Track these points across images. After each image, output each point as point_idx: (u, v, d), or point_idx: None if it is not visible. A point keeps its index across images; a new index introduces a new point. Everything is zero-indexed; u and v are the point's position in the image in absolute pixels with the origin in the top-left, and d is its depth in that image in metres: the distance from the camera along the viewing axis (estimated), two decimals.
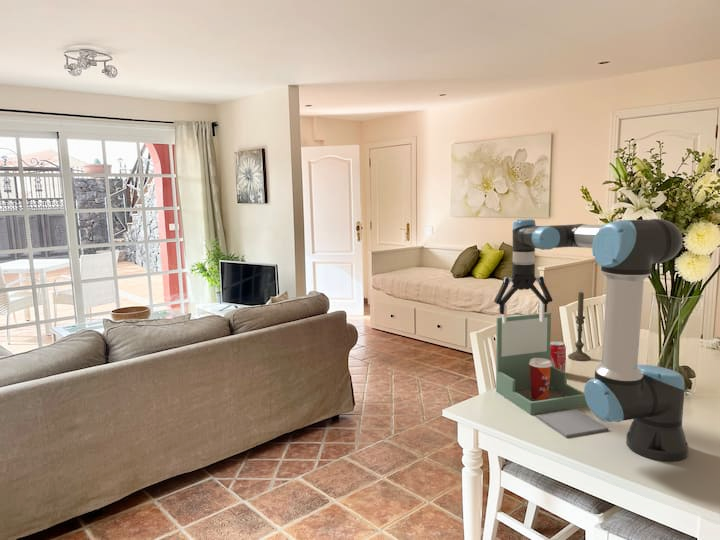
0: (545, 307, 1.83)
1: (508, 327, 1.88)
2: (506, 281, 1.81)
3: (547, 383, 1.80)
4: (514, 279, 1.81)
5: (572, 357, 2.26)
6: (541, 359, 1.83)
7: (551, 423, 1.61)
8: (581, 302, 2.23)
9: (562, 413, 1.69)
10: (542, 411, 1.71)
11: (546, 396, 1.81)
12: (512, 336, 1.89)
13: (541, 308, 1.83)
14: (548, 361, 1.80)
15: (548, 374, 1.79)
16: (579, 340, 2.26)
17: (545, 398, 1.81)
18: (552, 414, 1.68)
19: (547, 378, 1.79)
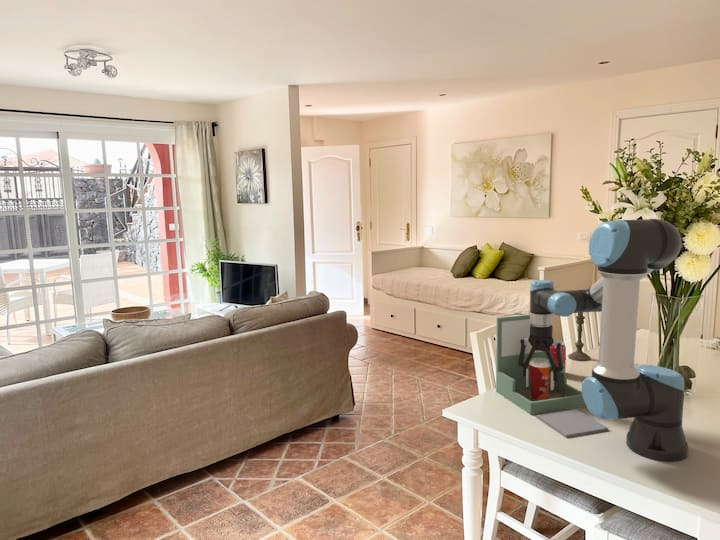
0: (555, 375, 1.79)
1: (508, 327, 1.88)
2: (521, 343, 1.83)
3: (547, 383, 1.80)
4: (529, 339, 1.81)
5: (572, 357, 2.26)
6: (541, 359, 1.83)
7: (551, 423, 1.61)
8: None
9: (562, 413, 1.69)
10: (542, 411, 1.71)
11: (546, 396, 1.81)
12: (512, 336, 1.89)
13: (551, 376, 1.80)
14: (548, 361, 1.80)
15: (548, 374, 1.79)
16: (579, 340, 2.26)
17: (545, 398, 1.81)
18: (552, 414, 1.68)
19: (547, 378, 1.79)
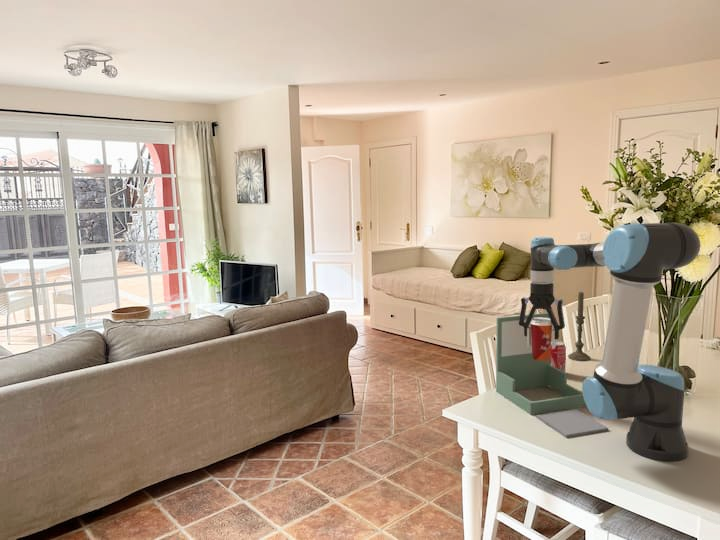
0: (556, 334, 1.77)
1: (508, 327, 1.88)
2: (522, 302, 1.81)
3: (548, 342, 1.77)
4: (530, 298, 1.79)
5: (572, 357, 2.26)
6: (542, 318, 1.80)
7: (551, 423, 1.61)
8: (581, 302, 2.23)
9: (562, 413, 1.69)
10: (542, 411, 1.71)
11: (547, 355, 1.78)
12: (512, 336, 1.89)
13: None
14: (549, 319, 1.78)
15: (549, 333, 1.77)
16: (579, 340, 2.26)
17: (546, 357, 1.78)
18: (552, 414, 1.68)
19: (548, 336, 1.77)
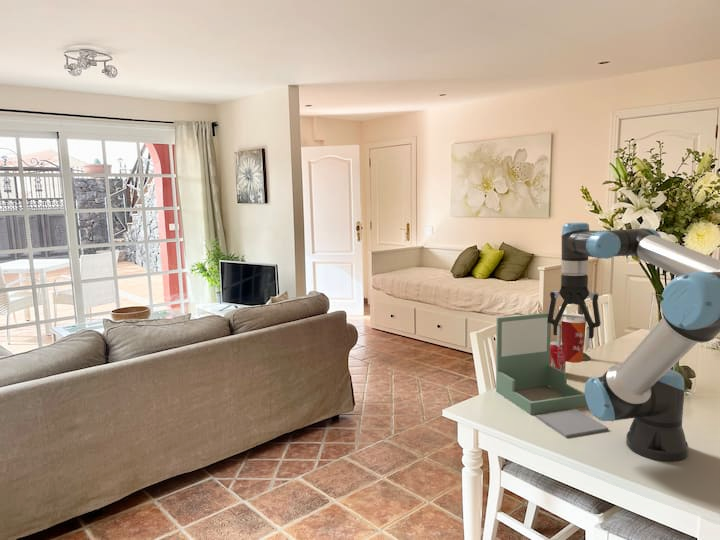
0: (591, 332, 1.56)
1: (508, 327, 1.88)
2: (551, 296, 1.59)
3: (581, 341, 1.56)
4: (560, 292, 1.58)
5: None
6: (574, 315, 1.59)
7: (551, 423, 1.61)
8: None
9: (562, 413, 1.69)
10: (542, 411, 1.71)
11: (581, 356, 1.57)
12: (512, 336, 1.89)
13: None
14: (583, 316, 1.57)
15: (583, 331, 1.56)
16: None
17: (579, 359, 1.57)
18: (552, 414, 1.68)
19: (582, 335, 1.56)
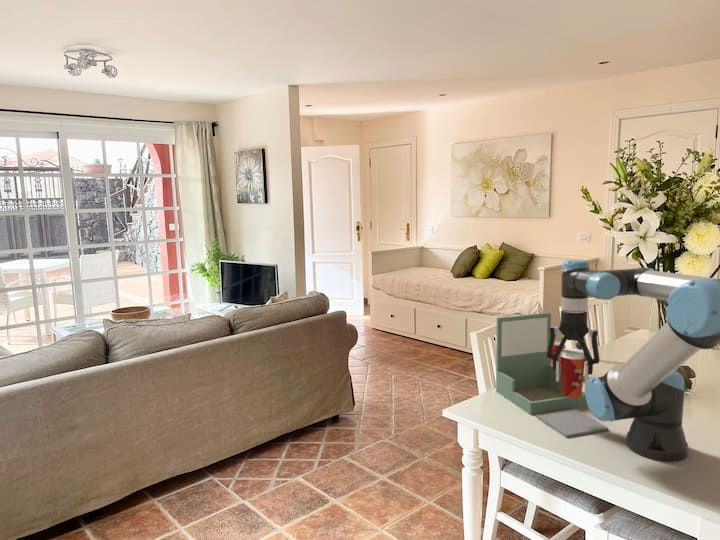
0: (590, 369, 1.57)
1: (508, 327, 1.88)
2: (551, 331, 1.61)
3: (580, 377, 1.58)
4: (560, 328, 1.59)
5: None
6: (573, 350, 1.61)
7: (551, 423, 1.61)
8: None
9: (562, 413, 1.69)
10: (542, 411, 1.71)
11: (579, 392, 1.59)
12: (512, 336, 1.89)
13: None
14: (582, 352, 1.58)
15: (582, 367, 1.57)
16: None
17: (578, 394, 1.59)
18: (552, 414, 1.68)
19: (581, 371, 1.57)
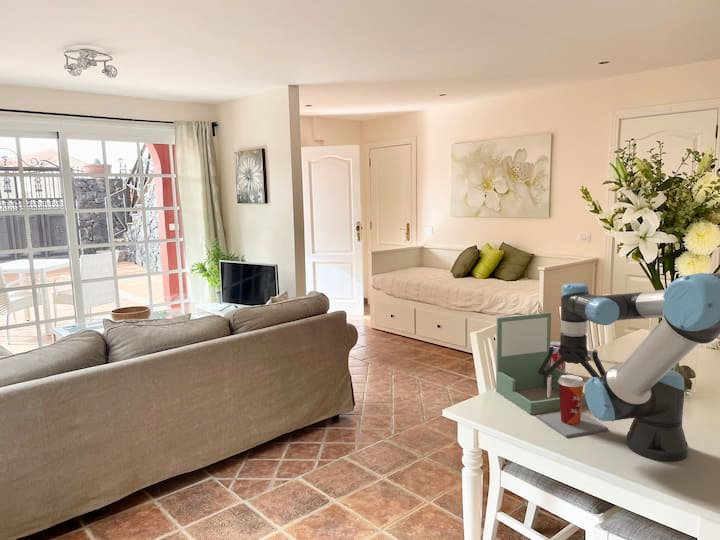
0: None
1: (508, 327, 1.88)
2: (550, 351, 1.62)
3: (579, 404, 1.59)
4: (560, 350, 1.60)
5: None
6: (571, 377, 1.62)
7: (551, 423, 1.61)
8: None
9: None
10: (542, 411, 1.71)
11: (578, 419, 1.60)
12: (512, 336, 1.89)
13: None
14: (580, 379, 1.59)
15: (580, 394, 1.58)
16: None
17: (577, 421, 1.60)
18: (552, 414, 1.68)
19: (579, 398, 1.59)
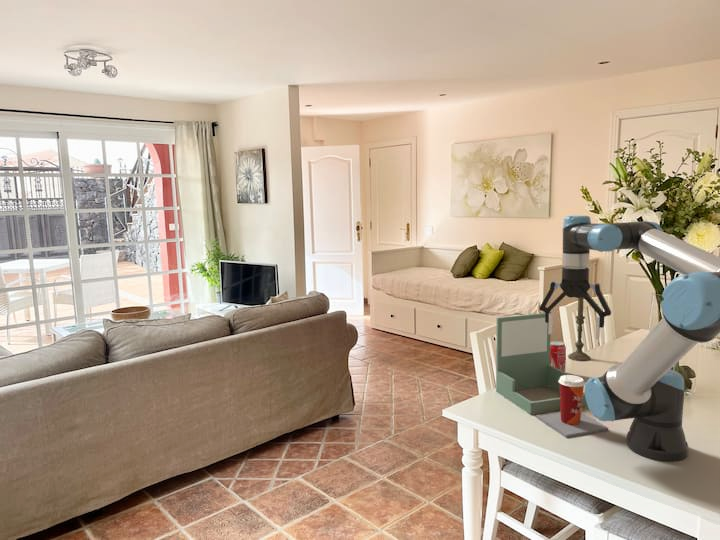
0: (601, 321, 1.53)
1: (508, 327, 1.88)
2: (551, 286, 1.59)
3: (579, 404, 1.59)
4: (561, 284, 1.57)
5: (572, 357, 2.26)
6: (572, 377, 1.62)
7: (551, 423, 1.61)
8: (581, 302, 2.23)
9: None
10: (542, 411, 1.71)
11: (578, 419, 1.60)
12: (512, 336, 1.89)
13: None
14: (581, 379, 1.60)
15: (581, 394, 1.58)
16: (579, 340, 2.26)
17: (577, 421, 1.60)
18: (552, 414, 1.68)
19: (580, 399, 1.59)
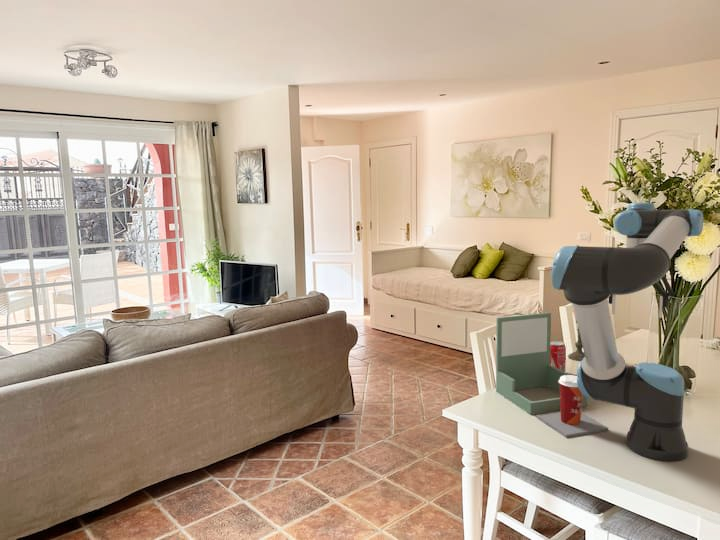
0: (664, 301, 1.64)
1: (508, 327, 1.88)
2: None
3: (579, 405, 1.59)
4: None
5: (572, 357, 2.26)
6: (572, 377, 1.62)
7: (551, 423, 1.61)
8: None
9: None
10: (542, 411, 1.71)
11: (578, 419, 1.60)
12: (512, 336, 1.89)
13: None
14: None
15: (581, 394, 1.58)
16: (579, 340, 2.26)
17: (577, 421, 1.60)
18: (552, 414, 1.68)
19: (580, 399, 1.59)
